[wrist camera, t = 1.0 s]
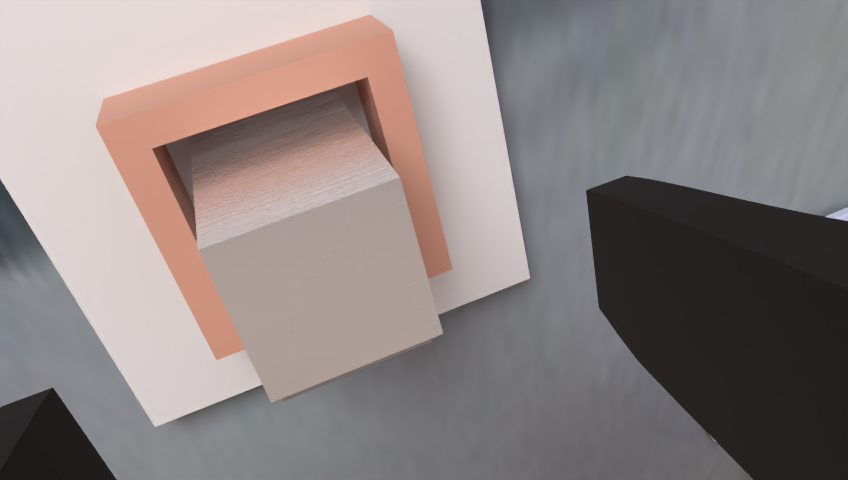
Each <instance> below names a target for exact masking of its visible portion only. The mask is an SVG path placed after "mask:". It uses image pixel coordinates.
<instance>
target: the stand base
mask: <svg viewBox="0 0 848 480" xmlns="http://www.w3.org/2000/svg"><path fill="white" fill-rule="evenodd" d="M331 90H334V91H335V92H336V94H337V95H338V96H339V98H340V99H341V100H342V102H343V103H344V104H345V106H346V107H347V108H348V109H349V111H350V112H351V113H352V115H353V116H354V117H355V119H356V120H357V121H358V123H359V124H360V125H361V127H362V128H363V129H364V131H365V132H366V133H367V134H368V136H369V137H370V138H371V140H372V141H373V142H374V144H375V145H376V146H377V148H378V149H379V150H380V152H381V153H382V154H383V156H384V157H385V158H386V160H387V161H388V162H389V163H390V165H391V166H392V167H393V169H394V170H395V171H396V173H397V174H398V175H399V177H400V179H401V183H402V186H403V190H404V193H405V197H406V201H407V204H408V208H409V212H410V215H411V219H412V222H413V226H414V230H415V233H416V237H417V241H418V244H419V248H420V251H421V255H422V259H423V262H424V266H425V269H426V273H427V277H428V280H429V284H430V288H431V291H432V295H433V298H434V302H435V306H436V309H437V313H438V315H439V314H442V313H444V312H447V311H449V310H452V309H454V308H457V307H459V306H462V305H464V304H467V303H469V302H472V301H474V300H477V299H480V298H482V297H485V296H487V295H490V294H492V293H495V292H497V291H500V290H502V289H505V288H507V287H510V286H512V285H515V284H517V283H520V282H522V281H525V280H527V279H530V275H529V269H528V264H527V258H526V252H525V247H524V241H523V236H522V230H521V224H520V219H519V213H518V208H517V202H516V197H515V191H514V185H513V180H512V174H511V169H510V163H509V158H508V152H507V146H506V141H505V135H504V130H503V124H502V118H501V113H500V107H499V102H498V96H497V91H496V85H495V79H494V74H493V68H492V63H491V57H490V51H489V46H488V40H487V35H486V29H485V24H484V18H483V12H482V7H481V1H480V0H0V179H1V181H2V182H3V184H4V185H5V187H6V189H7V190H8V192H9V193H10V195H11V197H12V198H13V200H14V201H15V203H16V205H17V206H18V208H19V209H20V211H21V213H22V214H23V216H24V218H25V219H26V221H27V222H28V224H29V226H30V227H31V229H32V230H33V232H34V234H35V235H36V237H37V238H38V240H39V242H40V243H41V245H42V246H43V248H44V250H45V251H46V253H47V254H48V256H49V258H50V259H51V261H52V262H53V264H54V266H55V267H56V269H57V270H58V272H59V274H60V275H61V277H62V279H63V280H64V282H65V283H66V285H67V287H68V288H69V290H70V291H71V293H72V295H73V296H74V298H75V299H76V301H77V303H78V304H79V306H80V307H81V309H82V311H83V312H84V314H85V315H86V317H87V319H88V320H89V322H90V323H91V325H92V327H93V328H94V330H95V331H96V333H97V335H98V336H99V338H100V340H101V341H102V343H103V344H104V346H105V348H106V349H107V351H108V352H109V354H110V356H111V357H112V359H113V360H114V362H115V364H116V365H117V367H118V368H119V370H120V372H121V373H122V375H123V376H124V378H125V380H126V381H127V383H128V384H129V386H130V388H131V389H132V391H133V392H134V394H135V396H136V397H137V399H138V400H139V402H140V404H141V405H142V407H143V409H144V410H145V412H146V413H147V415H148V417H149V418H150V420H151V421H152V423H153V425H154V426H155V427H156V426H159V425H162V424H164V423H167V422H169V421H172V420H174V419H177V418H179V417H182V416H184V415H187V414H189V413H192V412H194V411H197V410H199V409H202V408H204V407H207V406H209V405H212V404H215V403H217V402H220V401H222V400H225V399H227V398H230V397H232V396H235V395H237V394H240V393H242V392H245V391H247V390H250V389H252V388H255V387H257V386H260V385H262V383H261V380H260V378H259V376H258V374H257V372H256V370H255V368H254V366H253V364H252V362H251V360H250V358H249V356H248V353H247V351H246V349H245V347H244V345H243V343H242V341H241V339H240V337H239V335H238V333H237V331H236V329H235V326H234V324H233V322H232V320H231V318H230V316H229V314H228V312H227V310H226V308H225V306H224V304H223V302H222V299H221V297H220V295H219V293H218V291H217V289H216V287H215V285H214V283H213V281H212V279H211V277H210V275H209V272H208V270H207V268H206V266H205V264H204V262H203V260H202V258H201V256H200V254H199V252H198V248H197V234H196V220H195V207H194V193H193V179H192V165H191V152H190V137H193V136H196V135H199V134H202V133H205V132H208V131H211V130H214V129H217V128H220V127H223V126H226V125H229V124H232V123H235V122H238V121H241V120H244V119H247V118H250V117H253V116H256V115H259V114H262V113H265V112H268V111H271V110H274V109H277V108H280V107H283V106H286V105H289V104H292V103H295V102H298V101H301V100H304V99H307V98H310V97H313V96H316V95H319V94H322V93H325V92H328V91H331Z"/></svg>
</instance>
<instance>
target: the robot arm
mask: <svg viewBox="0 0 848 480" xmlns="http://www.w3.org/2000/svg"><path fill="white" fill-rule="evenodd" d="M586 194H587V203H588V212H589V221H590V230H591V239H592V248H593V257H594V267H595V276H596V285H597V294H598V303H599V308H600V310H601V311H602V312H603V314H604V315H605V317H606V318H607V319H608V321H609V322H610V324H611V325H612V327H613V328H614V329H615V331H616V332H617V334H618V335H619V336H620V338H621V339H622V340H623V342H624V343H625V344H626V346H627V347H628V348H629V349H630V351H631V352H632V353H633V355H634V356H635V357H636V359H637V360H638V361H639V362H640V363H641V364H642V366H643V367H644V368H645V369H646V370H647V371H648V372H649V373H650V374H651V375H652V376H653V377H654V378H655V379H656V380H657V381H658V382H659V383H660V384H661V385H662V386H663V388H664V389H665V390H666V391H667V392H668V393H669V394H670V395H671V396H672V397H673V398H674V399H675V400H676V401H677V402H678V403H679V404H680V405H681V406H682V407H683V408H684V409H685V410H686V411H687V412H688V413H689V414H690V415H691V416H692V417H693V418H694V419H695V420H696V421H697V422H698V423H699V424H700V425H701V426H702V427H703V428H704V429H705V431H706V432H707V433H708V434H709V436H710V437H711V438H712V440H713V441H715V442H716V443H718V444H719V445H720V446H721V447H722V448H723V449H724V450H725V451H726V452H727V453H728V454H729V455H730V456H731V457H732V458H733V459H734V460H735V461H736V462H737V463H738V464H739V465H740V466H741V467H742V468H743V469H744V470H745V471H746V472H747V473H748V474H749V475H750V476H751V477H752V478H753V479H754V480H848V207H847V208H844V209H842V210H840V211H837V212H835V213H832V214H830V215H827V216H825V217H823V216H818V215H813V214H808V213H802V212H797V211H792V210H788V209H783V208H778V207H774V206H769V205H764V204H760V203H755V202H751V201H746V200H742V199H737V198H733V197H729V196H724V195H720V194H715V193H711V192H707V191H702V190H698V189H693V188H689V187H684V186H680V185H675V184H671V183H666V182H661V181H656V180H651V179H645V178H639V177H631V176H624V177H621V178H619V179H616V180H613V181H610V182H608V183H605V184H602V185H600V186H597V187H594V188H591V189H589V190H586ZM0 480H116V478H115V477H114V475H113V474H112V472H111V471H110V470H109V468H108V467H107V465H106V464H105V462H104V461H103V459H102V458H101V456H100V455H99V454H98V452H97V451H96V449H95V448H94V446H93V445H92V443H91V442H90V441H89V439H88V438H87V436H86V435H85V433H84V432H83V430H82V429H81V427H80V426H79V425H78V423H77V422H76V420H75V419H74V417H73V416H72V414H71V413H70V412H69V410H68V409H67V407H66V406H65V404H64V403H63V401H62V400H61V398H60V397H59V396H58V394H57V393H56V391H55V390H54V388H51V389H48V390H45V391H42V392H40V393H37V394H34V395H32V396H29V397H26V398H24V399H21V400H18V401H15V402H13V403H10V404H7V405H5V406H2V407H1V408H0Z"/></svg>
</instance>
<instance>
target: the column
mask: <svg viewBox="0 0 848 480" xmlns="http://www.w3.org/2000/svg"><path fill="white" fill-rule="evenodd" d="M190 152H191V165H192V179H193V193H194V207H195V220H196V234H197V248H198V252H199V254H200V256H201V258H202V260H203V262H204V264H205V266H206V268H207V270H208V272H209V275H210V277H211V279H212V281H213V283H214V285H215V287H216V289H217V291H218V293H219V295H220V297H221V299H222V302H223V304H224V306H225V308H226V310H227V312H228V314H229V316H230V318H231V320H232V322H233V324H234V326H235V329H236V331H237V333H238V335H239V337H240V339H241V341H242V343H243V345H244V347H245V349H246V351H247V353H248V356H249V358H250V360H251V362H252V364H253V366H254V368H255V370H256V372H257V374H258V376H259V378H260V380H261V383H262V385H263V387H264V389H265V391H266V393H267V395H268V397H269V399H270V401H271V403H272V402H274V401H277V400H279V399H282V398H283V400H284V401H286V400H288V399H291V398H293V397H296V396H298V395H301V394H303V393H306V392H308V391H311V390H313V389H316V388H318V387H321V386H323V385H326V384H328V383H331V382H333V381H336V380H338V379H341V378H343V377H346V376H348V375H350V374H353V373H355V372H358V371H360V370H363V369H365V368H368V367H370V366H373V365H375V364H378V363H380V362H383V361H385V360H388V359H390V358H393V357H395V356H398V355H400V354H403V353H405V352H408V351H410V350H413V349H415V348H418V347H420V346H423V345H425V344H428V343H430V342H433V338H434V337H436V336H439V335H441V334H443V331H442V327H441V324H440V320H439V317H438V313H437V309H436V306H435V302H434V298H433V295H432V291H431V288H430V284H429V280H428V277H427V273H426V269H425V266H424V262H423V259H422V255H421V251H420V248H419V244H418V241H417V237H416V233H415V230H414V226H413V222H412V219H411V215H410V212H409V208H408V204H407V201H406V197H405V193H404V190H403V186H402V183H401V179H400V177H399V175H398V174H397V173H396V171H395V170H394V169H393V167H392V166H391V165H390V163H389V162H388V161H387V160H386V158H385V157H384V156H383V154H382V153H381V152H380V150H379V149H378V148H377V146H376V145H375V144H374V142H373V141H372V140H371V138H370V137H369V136H368V134H367V133H366V132H365V131H364V129H363V128H362V127H361V125H360V124H359V123H358V121H357V120H356V119H355V117H354V116H353V115H352V113H351V112H350V111H349V109H348V108H347V107H346V106H345V104H344V103H343V102H342V100H341V99H340V98H339V96H338V95H337V94H336V92H335V91H334V90H331V91H328V92H325V93H322V94H319V95H316V96H313V97H310V98H307V99H304V100H301V101H298V102H295V103H292V104H289V105H286V106H283V107H280V108H277V109H274V110H271V111H268V112H265V113H262V114H259V115H256V116H253V117H250V118H247V119H244V120H241V121H238V122H235V123H232V124H229V125H226V126H223V127H220V128H217V129H214V130H211V131H208V132H205V133H202V134H199V135H196V136H193V137H190Z"/></svg>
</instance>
